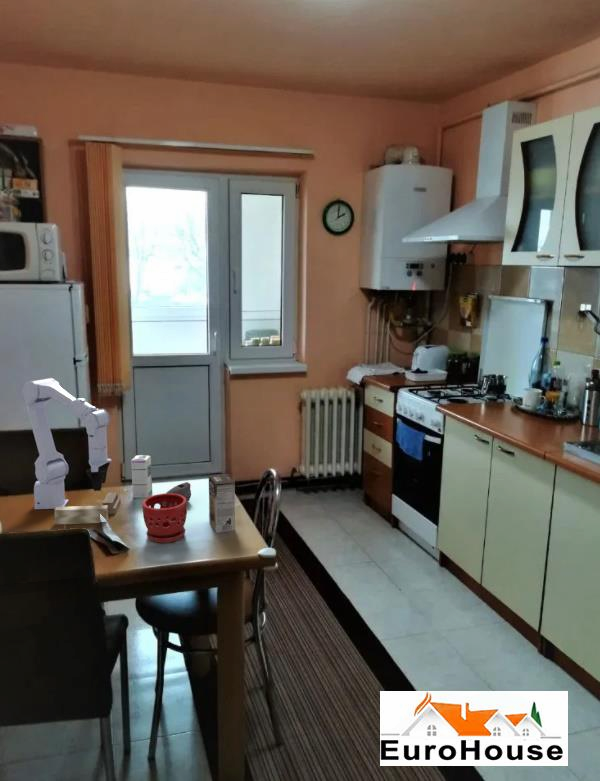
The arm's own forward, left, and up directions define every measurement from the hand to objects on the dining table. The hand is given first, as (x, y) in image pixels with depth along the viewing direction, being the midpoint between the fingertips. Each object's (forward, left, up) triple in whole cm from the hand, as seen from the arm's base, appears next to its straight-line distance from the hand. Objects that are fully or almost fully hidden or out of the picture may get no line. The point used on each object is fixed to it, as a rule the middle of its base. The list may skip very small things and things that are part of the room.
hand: (99, 486), depth 203 cm
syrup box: (+11, +19, -10) cm, 24 cm away
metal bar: (-5, -5, -10) cm, 12 cm away
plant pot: (+23, -20, -10) cm, 32 cm away
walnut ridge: (+2, +6, -10) cm, 12 cm away
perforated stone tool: (+24, +7, -10) cm, 27 cm away
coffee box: (+40, -13, -10) cm, 43 cm away
